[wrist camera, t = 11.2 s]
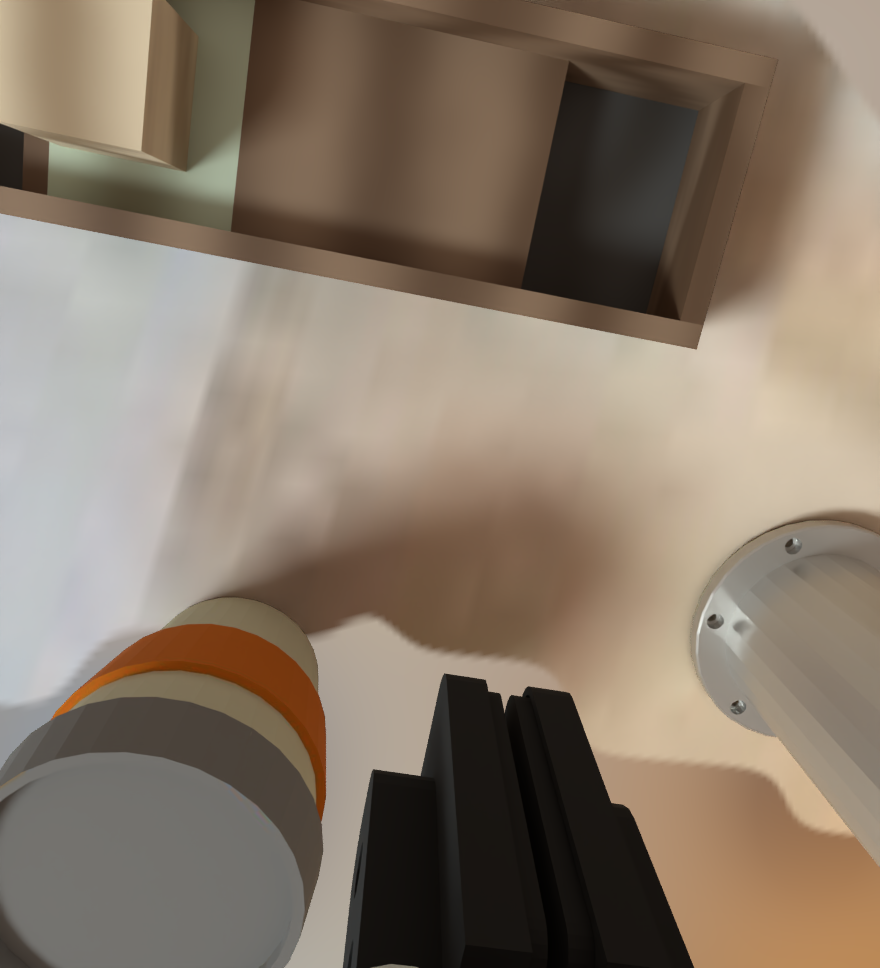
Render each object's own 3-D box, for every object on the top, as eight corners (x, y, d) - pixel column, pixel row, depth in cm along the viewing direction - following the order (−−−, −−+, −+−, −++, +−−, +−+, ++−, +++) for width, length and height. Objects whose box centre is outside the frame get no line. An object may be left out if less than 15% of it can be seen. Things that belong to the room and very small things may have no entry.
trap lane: (723, 92, 32) (778, 59, 27) (658, 339, 35) (696, 349, 30) (-121, -99, 29) (-227, -173, 24) (-116, 188, 32) (-210, 172, 27)
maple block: (198, 36, 28) (153, -14, 23) (186, 171, 29) (141, 151, 25) (68, 7, 28) (-6, -50, 23) (61, 146, 29) (-10, 119, 24)
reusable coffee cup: (358, 574, 38) (322, 756, 23) (344, 777, 41) (305, 1045, 27) (115, 556, 37) (-77, 731, 23) (121, 763, 40) (-43, 1031, 26)
